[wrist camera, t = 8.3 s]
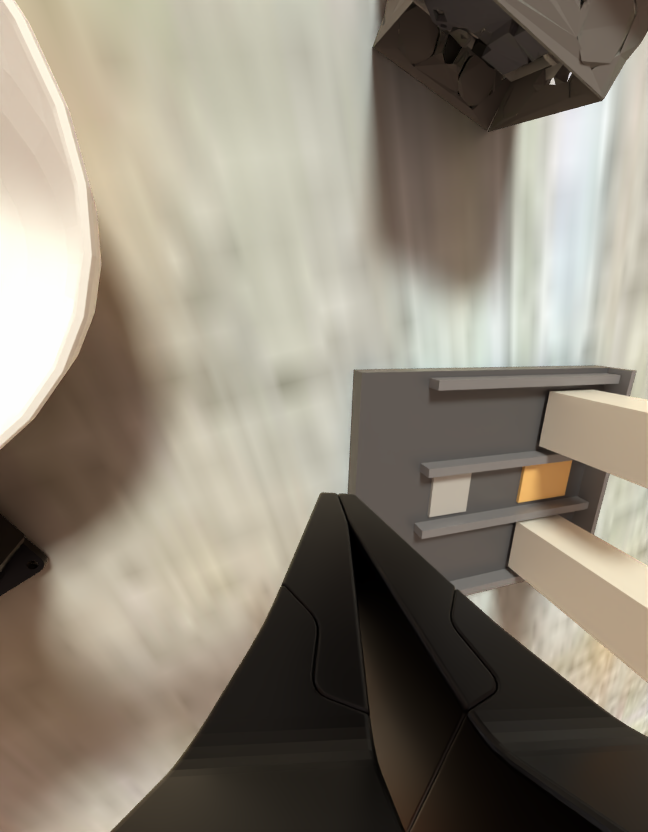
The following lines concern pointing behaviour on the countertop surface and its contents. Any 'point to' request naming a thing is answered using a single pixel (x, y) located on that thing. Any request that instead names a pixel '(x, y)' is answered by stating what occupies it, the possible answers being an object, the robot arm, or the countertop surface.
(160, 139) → the countertop surface
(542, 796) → the robot arm
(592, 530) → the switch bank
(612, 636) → the cream tall block
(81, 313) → the bowl
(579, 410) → the tab near
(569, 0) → the electrical switch
